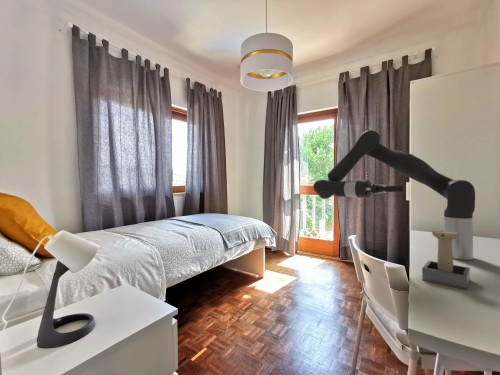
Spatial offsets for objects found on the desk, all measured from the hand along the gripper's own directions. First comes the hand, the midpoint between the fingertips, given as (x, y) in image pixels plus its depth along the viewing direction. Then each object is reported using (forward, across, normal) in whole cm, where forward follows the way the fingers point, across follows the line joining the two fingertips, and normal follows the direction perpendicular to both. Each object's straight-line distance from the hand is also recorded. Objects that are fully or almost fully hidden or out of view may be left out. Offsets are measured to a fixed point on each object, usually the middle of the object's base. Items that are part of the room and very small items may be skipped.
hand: (400, 188), depth 91 cm
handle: (+14, -5, +30) cm, 33 cm away
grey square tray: (+14, -6, +30) cm, 34 cm away
